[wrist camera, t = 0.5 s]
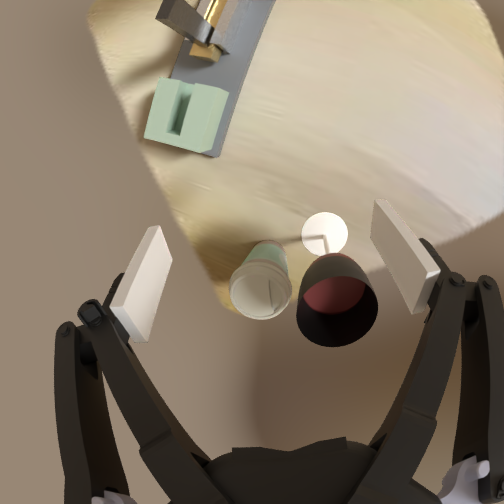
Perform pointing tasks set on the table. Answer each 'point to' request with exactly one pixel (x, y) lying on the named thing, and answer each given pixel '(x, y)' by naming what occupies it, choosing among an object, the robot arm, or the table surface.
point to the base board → (226, 66)
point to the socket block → (185, 114)
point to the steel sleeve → (226, 22)
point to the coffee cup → (261, 282)
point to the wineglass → (333, 287)
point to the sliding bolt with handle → (194, 26)
